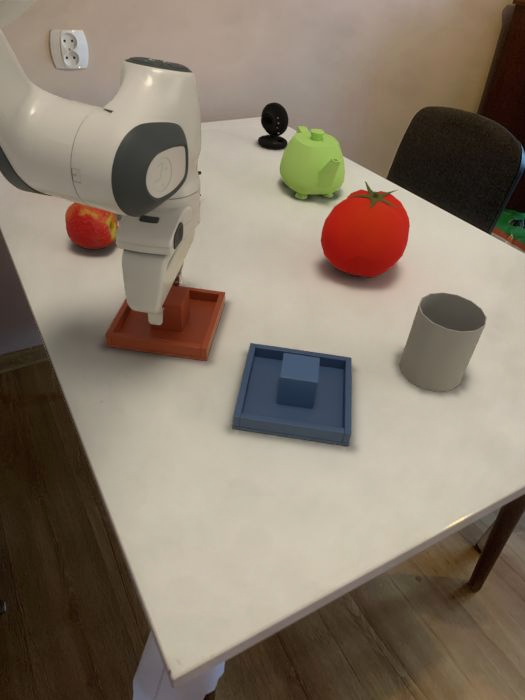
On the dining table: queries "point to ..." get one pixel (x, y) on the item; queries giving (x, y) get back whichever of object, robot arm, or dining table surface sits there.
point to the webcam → (274, 126)
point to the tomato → (366, 233)
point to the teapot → (312, 163)
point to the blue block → (298, 380)
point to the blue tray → (291, 421)
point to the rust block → (175, 309)
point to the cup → (441, 341)
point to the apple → (90, 226)
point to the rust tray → (190, 343)
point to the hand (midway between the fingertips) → (166, 301)
